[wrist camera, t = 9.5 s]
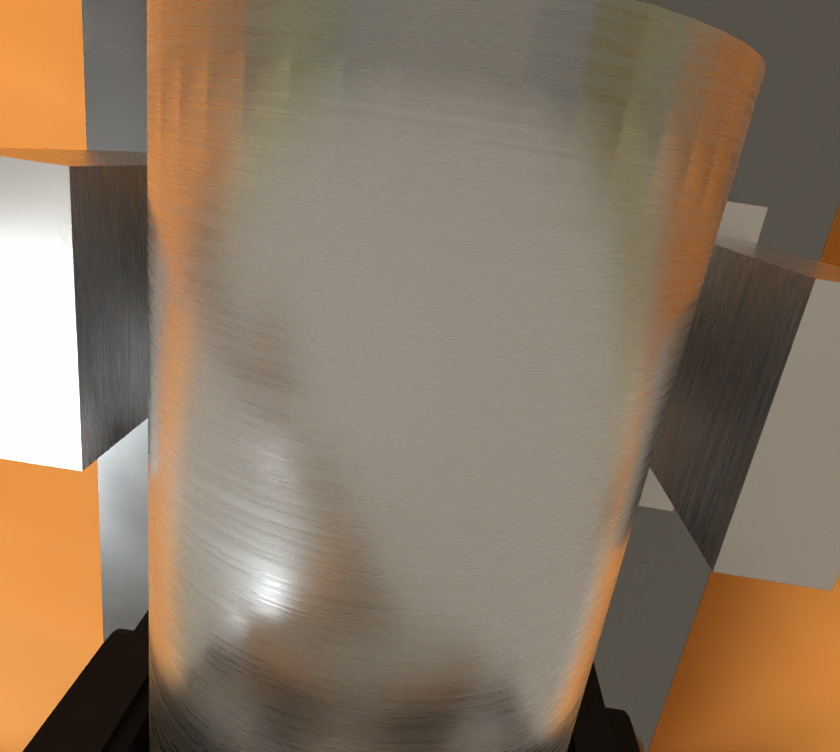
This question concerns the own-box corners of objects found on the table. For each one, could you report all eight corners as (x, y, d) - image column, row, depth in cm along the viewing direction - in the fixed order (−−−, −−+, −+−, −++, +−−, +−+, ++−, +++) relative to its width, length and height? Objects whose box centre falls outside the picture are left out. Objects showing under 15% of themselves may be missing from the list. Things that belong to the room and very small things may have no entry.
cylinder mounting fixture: (130, -81, 11) (-341, -417, 4) (849, 22, 10) (1416, -183, 4) (141, 903, 19) (-17, 1264, 13) (540, 973, 19) (577, 1375, 12)
